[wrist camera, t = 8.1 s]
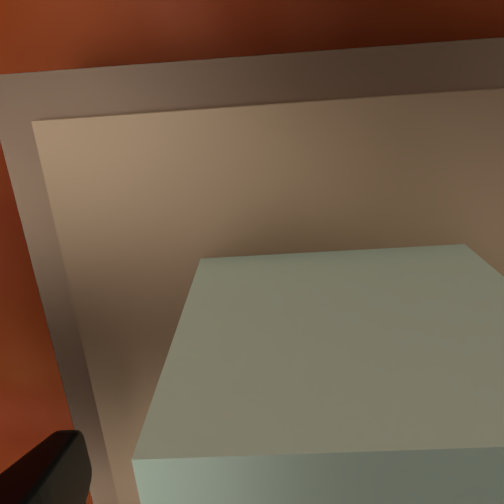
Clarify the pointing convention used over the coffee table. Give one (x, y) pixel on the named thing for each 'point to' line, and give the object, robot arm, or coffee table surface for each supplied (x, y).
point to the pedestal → (233, 192)
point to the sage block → (332, 382)
